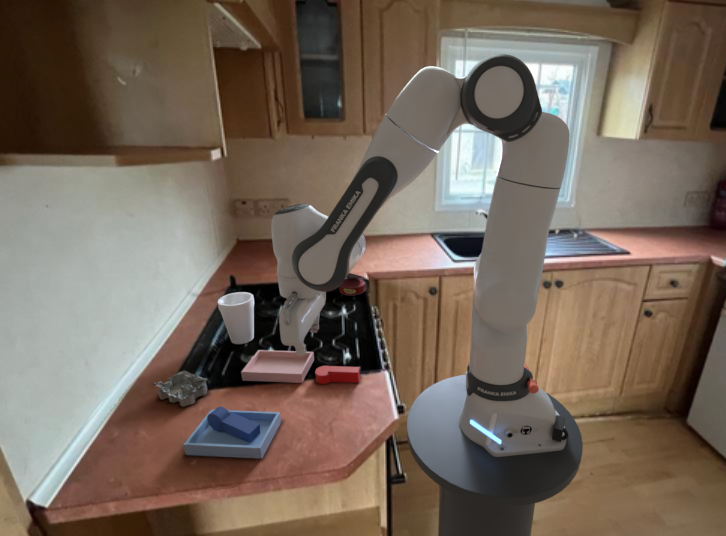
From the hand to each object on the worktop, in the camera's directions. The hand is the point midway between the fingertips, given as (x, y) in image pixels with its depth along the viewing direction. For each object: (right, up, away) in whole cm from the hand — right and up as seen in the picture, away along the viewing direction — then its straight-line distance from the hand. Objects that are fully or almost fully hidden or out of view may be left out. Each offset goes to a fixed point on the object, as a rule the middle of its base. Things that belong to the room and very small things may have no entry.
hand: (308, 342), depth 90 cm
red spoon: (+4, -12, +13) cm, 18 cm away
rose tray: (-12, -10, +17) cm, 23 cm away
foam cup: (-28, -5, +32) cm, 43 cm away
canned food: (-1, +8, +66) cm, 66 cm away
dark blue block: (-15, -16, -7) cm, 23 cm away
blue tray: (-13, -19, -6) cm, 24 cm away
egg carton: (-32, -14, +8) cm, 35 cm away
